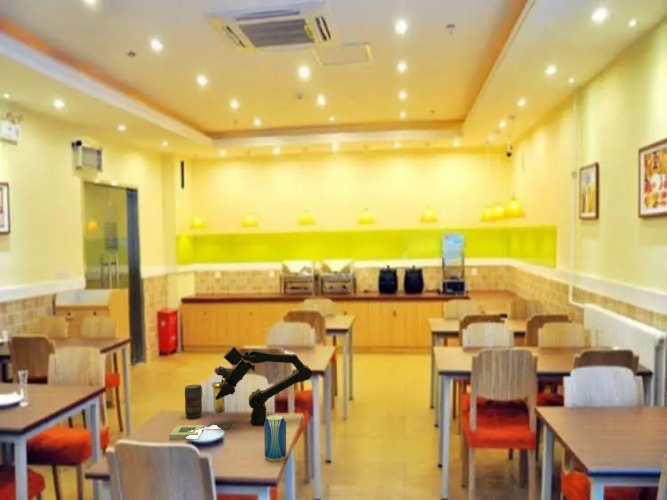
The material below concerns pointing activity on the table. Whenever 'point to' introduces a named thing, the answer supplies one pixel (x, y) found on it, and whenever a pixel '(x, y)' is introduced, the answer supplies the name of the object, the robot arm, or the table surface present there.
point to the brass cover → (220, 403)
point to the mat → (221, 424)
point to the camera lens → (193, 401)
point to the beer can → (275, 438)
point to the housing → (184, 431)
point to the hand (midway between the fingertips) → (215, 397)
